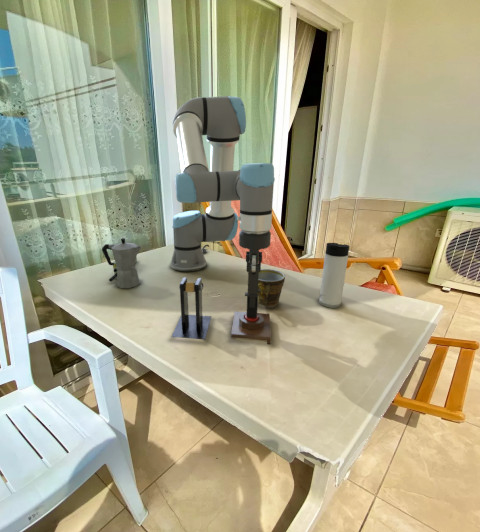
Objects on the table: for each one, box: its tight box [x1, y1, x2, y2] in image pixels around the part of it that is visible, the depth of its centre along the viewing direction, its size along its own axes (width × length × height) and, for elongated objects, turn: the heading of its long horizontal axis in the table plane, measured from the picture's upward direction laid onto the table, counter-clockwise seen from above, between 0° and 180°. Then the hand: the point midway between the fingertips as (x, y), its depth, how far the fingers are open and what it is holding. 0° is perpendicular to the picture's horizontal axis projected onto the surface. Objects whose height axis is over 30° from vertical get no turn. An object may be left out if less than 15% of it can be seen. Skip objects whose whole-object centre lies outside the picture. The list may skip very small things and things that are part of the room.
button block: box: [230, 311, 272, 345], centre depth 83 cm, size 12×10×4 cm
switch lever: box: [186, 280, 204, 293], centre depth 85 cm, size 13×3×3 cm, turn 168°
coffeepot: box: [101, 238, 142, 289], centre depth 113 cm, size 15×9×18 cm, turn 79°
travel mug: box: [318, 242, 350, 309], centre depth 92 cm, size 6×7×20 cm
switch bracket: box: [171, 277, 212, 341], centre depth 82 cm, size 12×9×15 cm
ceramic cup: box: [257, 268, 286, 309], centre depth 94 cm, size 13×10×10 cm
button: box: [245, 314, 258, 322], centre depth 82 cm, size 4×4×2 cm
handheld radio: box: [108, 256, 138, 282], centre depth 128 cm, size 7×3×25 cm
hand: (251, 315), depth 82 cm, fingers closed
